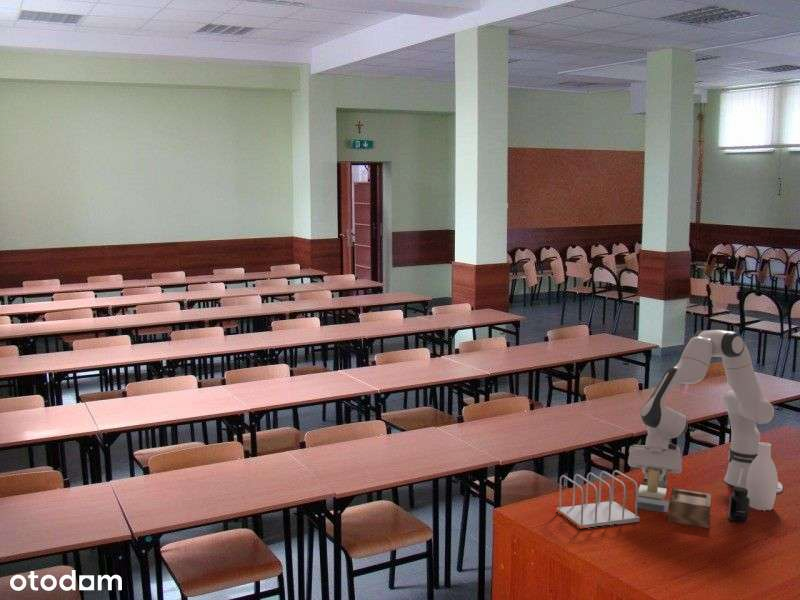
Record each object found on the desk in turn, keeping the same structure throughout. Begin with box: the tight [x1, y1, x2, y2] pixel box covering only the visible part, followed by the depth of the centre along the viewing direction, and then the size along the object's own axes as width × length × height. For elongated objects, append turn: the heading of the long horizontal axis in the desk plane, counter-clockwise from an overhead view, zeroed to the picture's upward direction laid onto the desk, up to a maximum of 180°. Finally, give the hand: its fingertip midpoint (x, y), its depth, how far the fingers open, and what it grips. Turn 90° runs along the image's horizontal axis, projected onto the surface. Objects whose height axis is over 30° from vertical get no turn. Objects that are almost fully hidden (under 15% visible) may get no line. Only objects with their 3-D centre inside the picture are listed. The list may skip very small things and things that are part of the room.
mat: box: [634, 496, 670, 514], centre depth 302 cm, size 12×12×1 cm
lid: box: [638, 469, 668, 501], centre depth 300 cm, size 10×10×9 cm
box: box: [667, 487, 712, 529], centre depth 289 cm, size 14×14×8 cm
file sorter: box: [556, 469, 641, 528], centre depth 288 cm, size 25×17×16 cm
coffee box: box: [642, 469, 668, 489], centre depth 324 cm, size 9×6×16 cm
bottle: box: [746, 441, 779, 512], centre depth 301 cm, size 11×11×25 cm
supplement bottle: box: [727, 486, 750, 524], centre depth 288 cm, size 7×7×12 cm
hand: (653, 479), depth 300 cm, fingers closed on lid, 4 cm apart
